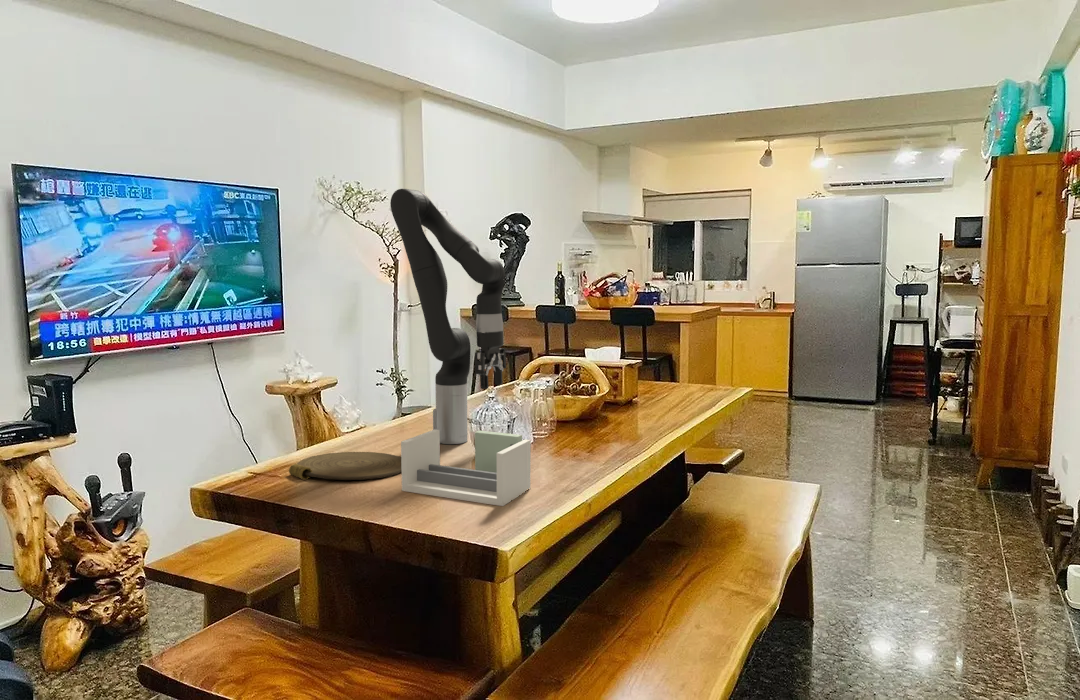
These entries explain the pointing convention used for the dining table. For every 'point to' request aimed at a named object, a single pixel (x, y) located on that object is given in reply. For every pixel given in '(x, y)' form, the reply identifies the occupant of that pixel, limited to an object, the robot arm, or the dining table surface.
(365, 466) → the decorative disc
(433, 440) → the grey u-shaped open holder
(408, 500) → the dining table surface
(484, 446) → the door panel
